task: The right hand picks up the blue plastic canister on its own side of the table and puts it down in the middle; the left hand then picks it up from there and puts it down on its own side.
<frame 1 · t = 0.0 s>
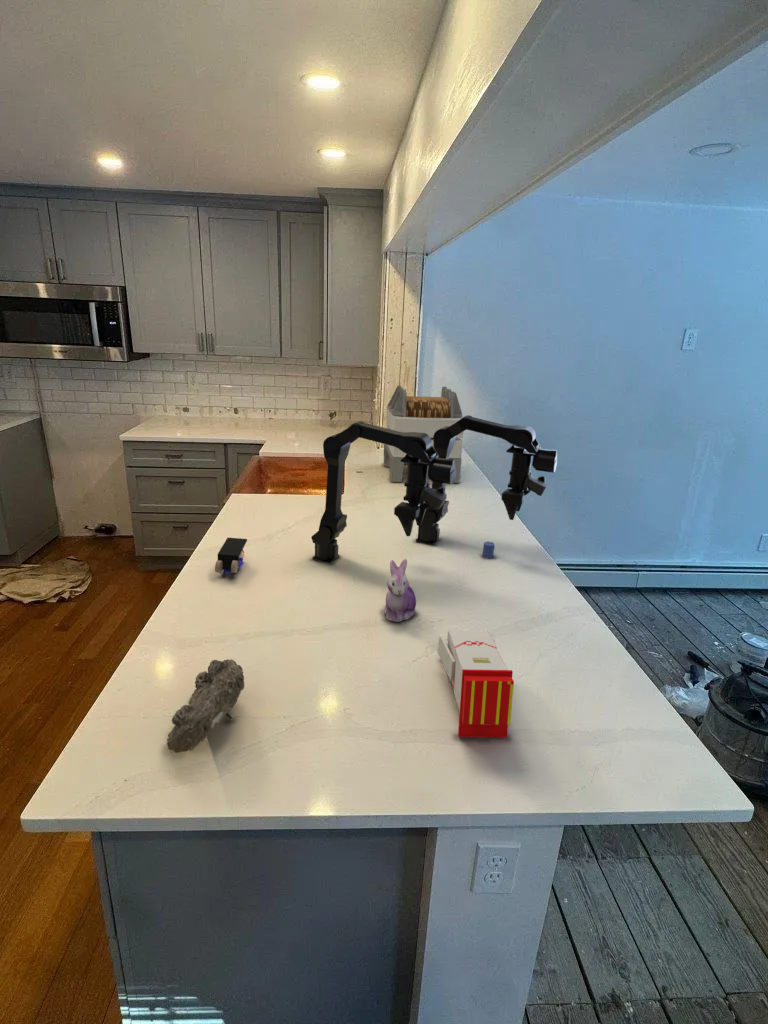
left hand: (413, 530, 164), 15 cm above the counter, tool pointing down, fingers open, 9 cm apart
right hand: (514, 515, 180), 15 cm above the counter, tool pointing down, fingers open, 9 cm apart
canister: (487, 556, 185), on the counter
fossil: (212, 717, 108), on the counter
grey crate with roll: (419, 473, 275), on the counter
toy: (469, 691, 119), on the counter
black wheeled cart: (232, 569, 168), on the counter
figurine: (399, 614, 147), on the counter
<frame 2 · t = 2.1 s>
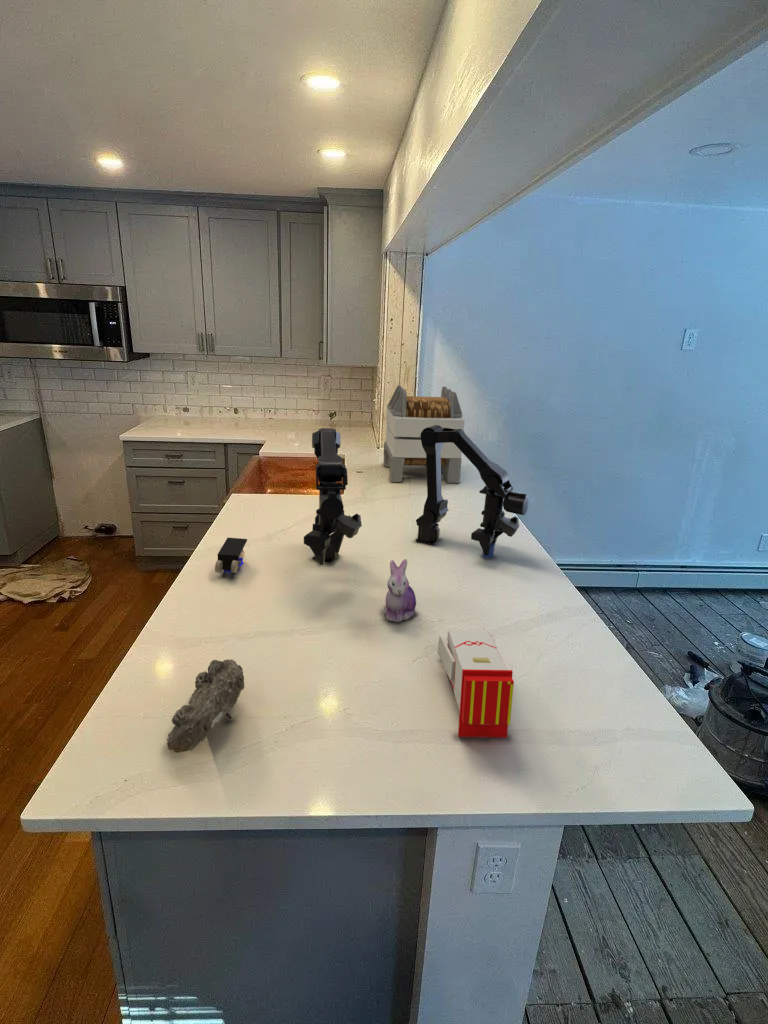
left hand: (329, 558, 157), 9 cm above the counter, tool pointing down, fingers open, 9 cm apart
right hand: (488, 553, 185), 1 cm above the counter, tool pointing down, fingers closed on canister, 3 cm apart
canister: (487, 556, 185), on the counter, touching right hand
everything else where it was.
when the right hand's fingers open (2 cm above the counter, at t = 6.4 s): canister stays where it is, on the counter.
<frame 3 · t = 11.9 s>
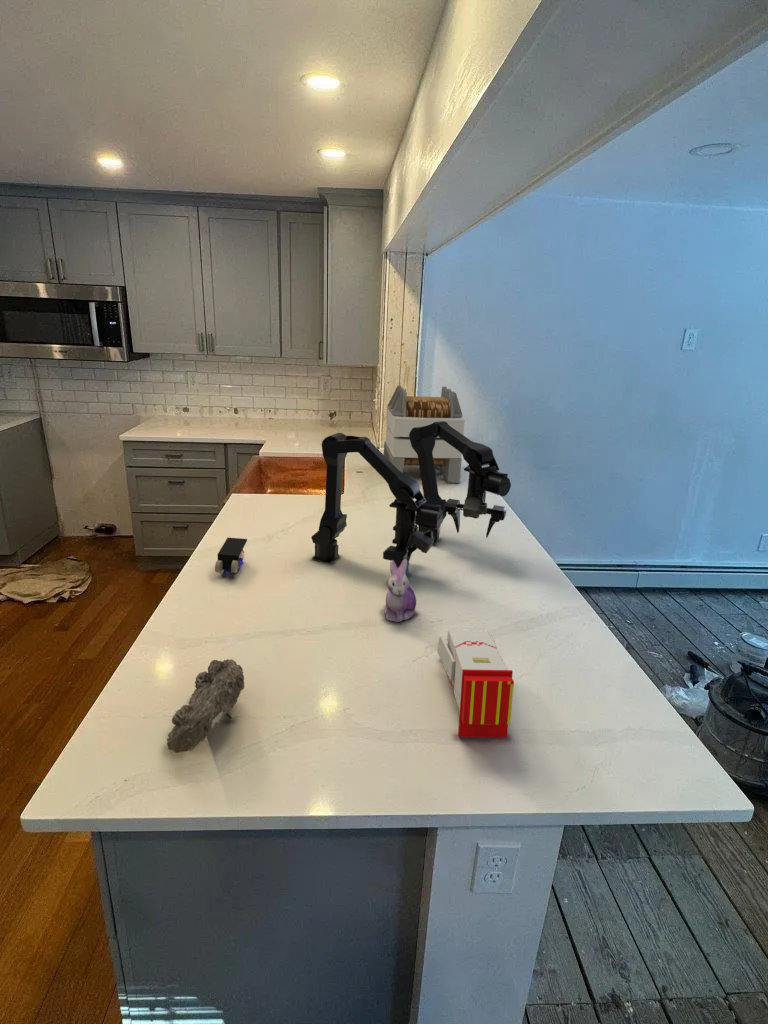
left hand: (402, 571, 169), 1 cm above the counter, tool pointing down, fingers closed on canister, 3 cm apart
right hand: (472, 534, 179), 9 cm above the counter, tool pointing down, fingers open, 9 cm apart
canister: (402, 574, 169), on the counter, touching left hand
everything else where it was.
when the left hand's fingers open (2 cm above the counter, at t = 16.1 s): canister stays where it is, on the counter.
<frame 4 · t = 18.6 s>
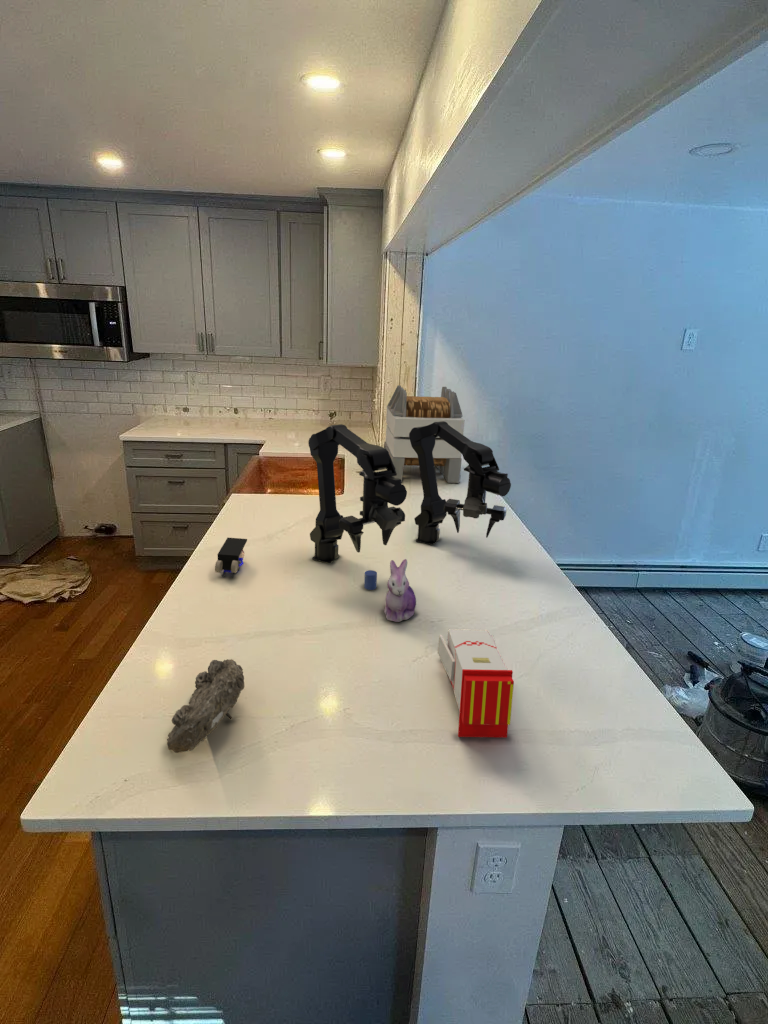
left hand: (371, 548, 157), 12 cm above the counter, tool pointing down, fingers open, 9 cm apart
right hand: (472, 534, 179), 9 cm above the counter, tool pointing down, fingers open, 9 cm apart
canister: (370, 587, 161), on the counter
everything else where it was.
at the end: canister inside the target area (0.0 cm from its centre), on the counter; canister tilted 0°; the two hands never held the canister at the same time; the left hand is holding nothing; the right hand is holding nothing; canister at rest at the end (0.0 cm/s) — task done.
